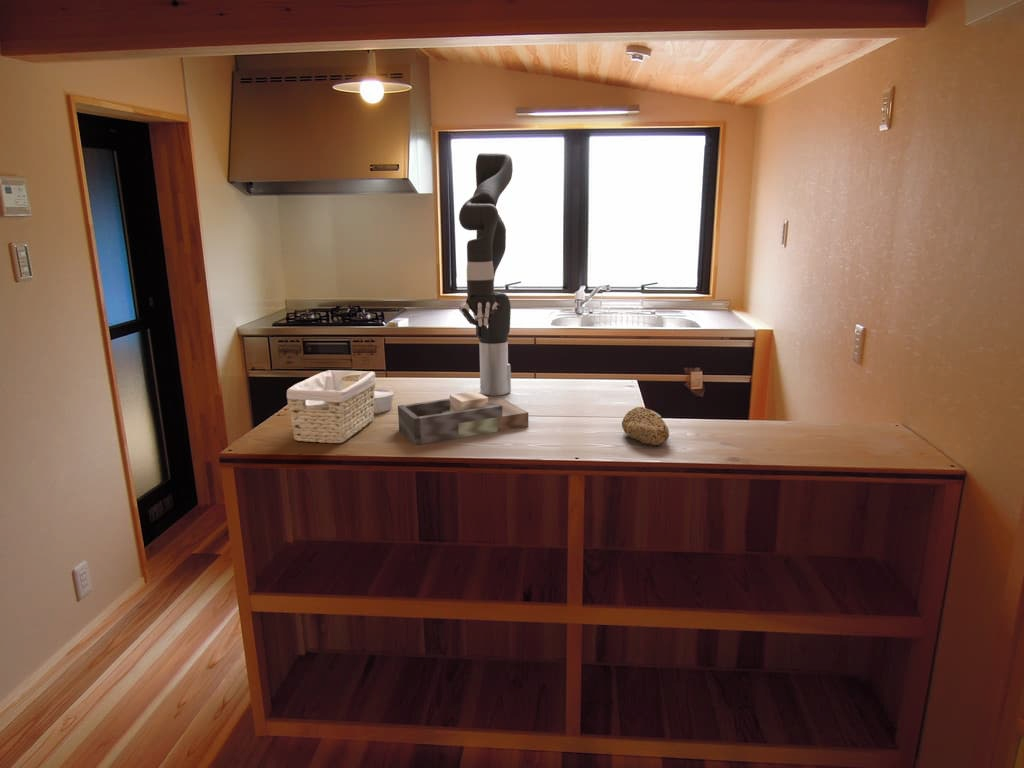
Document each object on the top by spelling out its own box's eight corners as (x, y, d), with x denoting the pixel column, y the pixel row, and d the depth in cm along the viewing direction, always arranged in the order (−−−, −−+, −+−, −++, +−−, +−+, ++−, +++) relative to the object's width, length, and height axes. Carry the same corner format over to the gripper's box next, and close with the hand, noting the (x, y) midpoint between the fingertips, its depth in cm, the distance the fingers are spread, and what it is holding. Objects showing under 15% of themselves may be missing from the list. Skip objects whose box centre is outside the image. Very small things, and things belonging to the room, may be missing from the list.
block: (476, 408, 196) (475, 391, 195) (488, 415, 189) (488, 397, 188) (450, 412, 192) (449, 394, 191) (461, 419, 186) (461, 401, 184)
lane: (506, 413, 204) (505, 390, 203) (528, 426, 192) (528, 402, 190) (399, 430, 190) (397, 405, 188) (415, 445, 178) (414, 419, 176)
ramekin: (398, 404, 215) (397, 388, 214) (389, 415, 204) (388, 398, 203) (363, 404, 216) (362, 388, 215) (352, 414, 205) (351, 397, 204)
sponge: (623, 429, 193) (612, 437, 174) (630, 402, 192) (620, 407, 173) (670, 442, 189) (663, 451, 170) (677, 415, 188) (671, 421, 169)
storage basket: (329, 416, 203) (325, 368, 200) (380, 419, 200) (377, 370, 197) (288, 443, 181) (282, 389, 177) (345, 447, 178) (341, 391, 174)
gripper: (495, 275, 198) (496, 334, 203) (453, 277, 193) (455, 338, 197) (507, 277, 192) (508, 338, 196) (463, 280, 186) (465, 343, 190)
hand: (481, 338), depth 196 cm, fingers closed
